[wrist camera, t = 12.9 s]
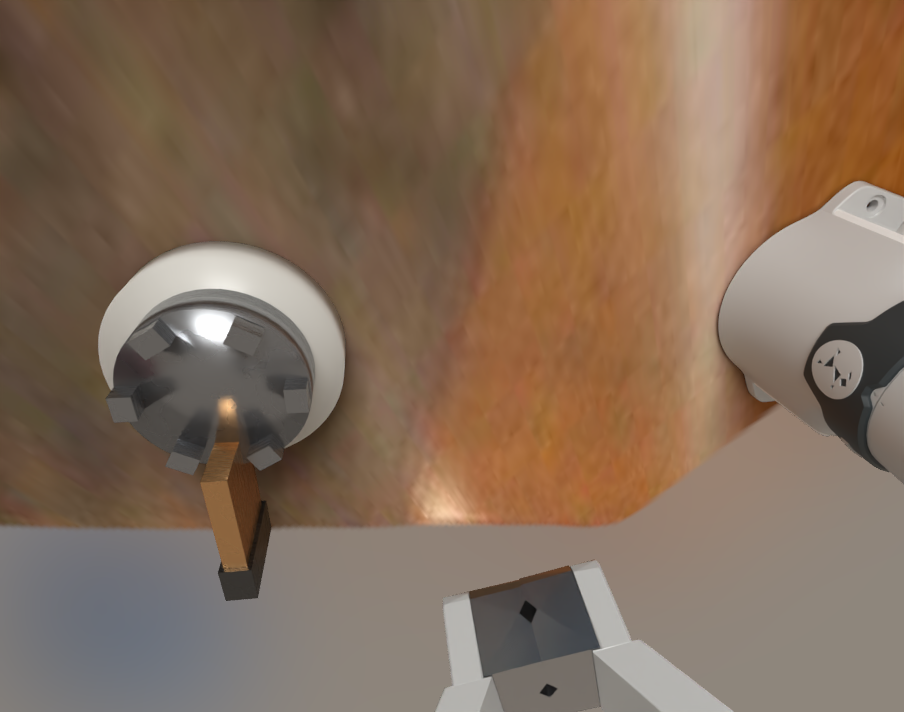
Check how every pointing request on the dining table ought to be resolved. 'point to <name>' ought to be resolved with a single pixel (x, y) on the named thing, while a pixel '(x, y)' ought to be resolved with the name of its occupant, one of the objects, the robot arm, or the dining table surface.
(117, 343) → the white round plate
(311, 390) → the lugged steel disc
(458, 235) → the dining table surface
